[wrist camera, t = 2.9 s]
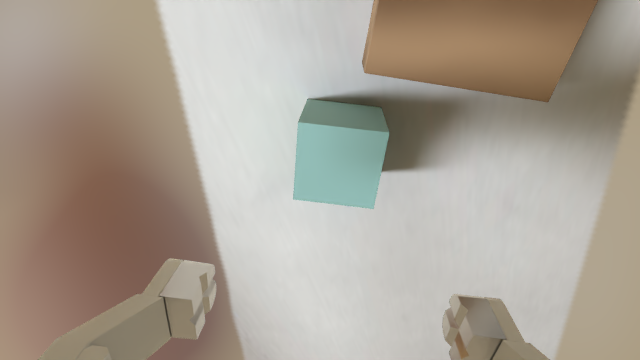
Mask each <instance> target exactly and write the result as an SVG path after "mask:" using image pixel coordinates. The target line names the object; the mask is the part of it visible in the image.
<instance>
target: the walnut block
mask: <svg viewBox="0 0 640 360" xmlns="http://www.w3.org/2000/svg"><path fill="white" fill-rule="evenodd" d="M597 1H598V0H374V3H373V8H372V13H371V18H370V24H369V29H368V34H367V39H366V44H365V50H364V55H363V60H362V64H363V68H364V72H365V73H368V74H375V75H381V76H387V77H393V78H400V79H406V80H412V81H418V82H425V83H431V84H437V85H444V86H450V87H456V88H462V89H469V90H475V91H481V92H487V93H494V94H500V95H506V96H512V97H519V98H525V99H531V100H538V101H544V102H548V101H549V99H550V97H551V95H552V93H553V91H554V89H555V87H556V85H557V83H558V81H559V79H560V77H561V75H562V73H563V71H564V69H565V67H566V65H567V63H568V61H569V59H570V56H571V54H572V52H573V50H574V48H575V46H576V44H577V42H578V40H579V38H580V36H581V34H582V32H583V30H584V28H585V26H586V24H587V22H588V20H589V18H590V16H591V14H592V12H593V10H594V8H595V5H596V3H597Z"/></svg>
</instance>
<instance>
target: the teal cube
mask: <svg viewBox="0 0 640 360" xmlns="http://www.w3.org/2000/svg"><path fill="white" fill-rule="evenodd" d="M388 138H389V130H388V127H387V124H386V121H385V118H384V114H383V111H382V108H381V107H375V106H366V105H357V104H348V103H340V102H331V101H322V100H313V99H307V102H306V104H305V107H304V109H303V112H302V114H301V116H300V119H299V121H298V132H297V148H296V163H295V179H294V194H293V199H295V200H303V201H311V202H320V203H328V204H337V205H345V206H353V207H362V208H370V209H374V204H375V199H376V194H377V190H378V185H379V180H380V176H381V171H382V166H383V161H384V157H385V152H386V147H387V142H388Z"/></svg>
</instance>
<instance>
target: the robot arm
mask: <svg viewBox="0 0 640 360" xmlns="http://www.w3.org/2000/svg"><path fill="white" fill-rule="evenodd" d="M214 274H215V267H214V265H213V264H207V263H200V262H194V261H187V260H178V259H172V258H170V259H168V260H167V261H166V262H165V263H164V264H163V266H162V267H161V268H160V270H159V271H158V272H157V274H156V275H155V277H154V278H153V279H152V281H151V282H150V284H149V285H148V286H147V288H146V289H145V290H144V292H143V293H142V294H136V295H134V296H133V297H131V298H129V299H127V300H125V301H124V302H122V303H120V304H118V305H116V306H115V307H113V308H111V309H109V310H107V311H106V312H104V313H102V314H100V315H98V316H97V317H95V318H93V319H91V320H89V321H88V322H86V323H84V324H82V325H80V326H79V327H77V328H75V329H73V330H71V331H70V332H68V333H66V334H64V335H63V336H61V337H59V338H57V339H56V340H55V341H54V342H53V343H52V344H51V345H50V347H49V348H48V349H47V350H46V351H45V352H44V354H43V355H42V356H41V357H40V358H39V359H38V360H146V359H147V358H148V357H150V356H151V355H152V354H153V353H154V352H155V351H157V350H158V349H159V348H160V347H161V346H163V345H164V344H165V343H166V342H167V341H169V340H170V339H171V338H170V337H176V338H186V339H196V340H197V339H198V336H199V334H200V332H201V330H202V327H203V325H204V323H205V314H206V313H207V312H209V311H210V310H211V308H212V305H213V303H214V299H215V295H216V282H215V281H214V280H213V279H212V278H213V276H214ZM449 303H450V306H451V308H449V309H447V310H446V311H445V313H444V316H443V322H442V328H443V334H444V338H445V340H446V341H447V343H448V344H449V345H450V346H451V349H450V351H449V355H450V358H451V360H550V359H548V358H547V357H546V356H545V355H544V354H542V353H541V352H540V351H539V350H537V349H536V348H535V347H534V346H533V345H531V344H530V343H525V341H524V339H523V338H522V336H521V334H520V332H519V330H518V328H517V327H516V325H515V323H514V321H513V319H512V317H511V316H510V314H509V312H508V310H507V308H506V306H505V305H504V303H503V301H501V300H500V299H496V298H487V297H478V296H469V295H460V294H453V295H452V296H451V298H450V300H449Z"/></svg>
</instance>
